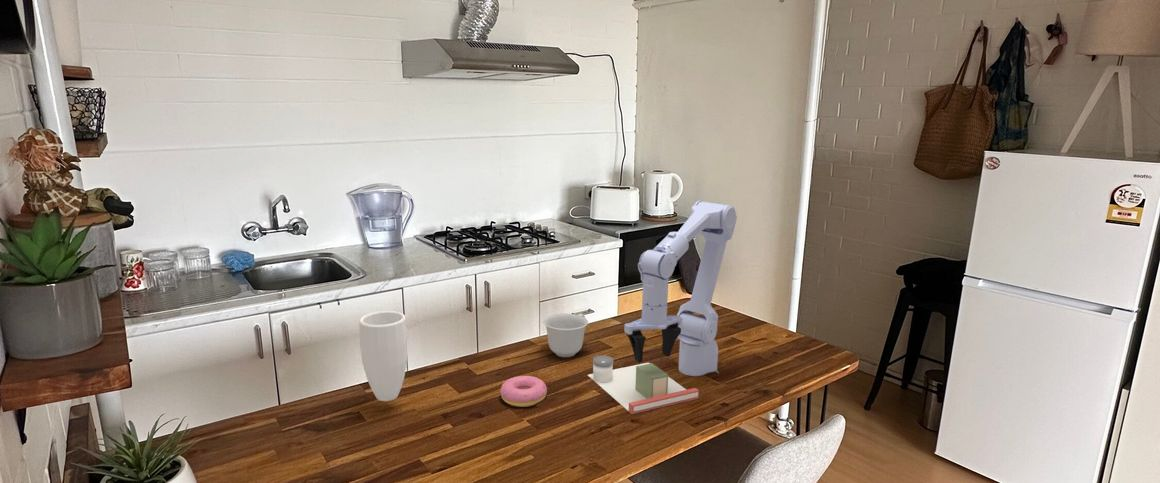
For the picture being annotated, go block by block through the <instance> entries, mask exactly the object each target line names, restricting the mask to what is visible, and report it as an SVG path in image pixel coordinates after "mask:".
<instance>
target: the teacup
mask: <svg viewBox="0 0 1160 483" xmlns="http://www.w3.org/2000/svg"><path fill="white" fill-rule="evenodd" d="M588 324H589V320H588V319H587V318H586V316H585V315H584V313H578V314H575V313H555V314H552V315H548V316H547V317H546V318H544V319H543V325H545V328H546V333H547V334H546V336H547V341H548V342H547V343H548V346H549V349H550V350H551V351H552V352H553V353H554V354H555V355H556V356H558V357H561V358H571V357H574V356H575V355H576V354H577V353H579V351H580V350H581V349H582V346H583V343H584V336H585V330H586V326H587V325H588Z"/></svg>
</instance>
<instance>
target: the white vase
mask: <svg viewBox="0 0 1160 483" xmlns="http://www.w3.org/2000/svg"><path fill="white" fill-rule="evenodd" d="M406 317H407V316H406V315H405V314H404V313H402V312H399V311H396V310H382V311H379V310H378V311H374V312H370V313H367V314H365V315H363V316H362V317H361V318H360V319H359V322H358V324H359V345H360V346H359V347H360V354H361V361H362V362H361V363H362V366H363V370H364V372H365V377H366V380H367V382H368V384H369V386H370V389H371V390H372V392H373V394H374V396H375V399H377V400H378V401H381V402H390V401H393V400H396V399H397V398H398V397H399V395H400V392H401V390H402V386H403V383H404V379H405V377H406V376H405V375H406V370H407V364H408V331H407V320H406Z"/></svg>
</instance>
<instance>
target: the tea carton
mask: <svg viewBox="0 0 1160 483" xmlns="http://www.w3.org/2000/svg"><path fill="white" fill-rule="evenodd" d="M649 363H650V362H649ZM668 377H669V374H668V373H667V372H665V371H663V369H661V368H660V367H658V366H657V365H656V364H653V363H650V364H645V365H640V366H636V385H635V390H636V391H638V392H639V393H640V394H641V395H643V396H644V397H645V398H646V399H648V398H652V397H657V396H661V395H666V394H667V390H668Z"/></svg>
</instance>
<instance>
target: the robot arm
mask: <svg viewBox="0 0 1160 483" xmlns="http://www.w3.org/2000/svg"><path fill="white" fill-rule="evenodd" d="M737 218H738V217H737V212H736V208H735V207H734V205H732V204H724V203H723V204H722V203H714V202H708V201H703V200H697V201H696V202H695V203H694V204H693V205H692V206H691V207H690V214H689V217H688V218H687V219H686V221H685V222H684V223H683V225H682V226H681V227H680V229H678V231H670V232H668V233H667V235H666V236H665V237H664V238H663V239H662V240H661V241H660V242H659V243H658V244H657V245H656V246H655V247H654V248H653V249H646V251H644V252H643V253H642V254H640V257H639V260H638V261H639V262H638V263H637V270H638V272H639V274H640V280H641V282H642V295H641V296H642V301H641V318H639V319H636V320H633V321H631V322H627V323H624V326H623V327H624V330H623V331H624V333H625V334H626V336H627V337H628V340H629V342H630V344H631V348H632V351H633V357H634V360H635V362H638V363H640V364H641V363H642V362H643V358H644V356H643V354H644V346H645V341H646V339H647V337H646V336H644V335H643V332H644V331H650V330H655V329H657V330H661V337H662V342H661V343H662V344H661V345H662V346H661V351H662V352H661V353H662V355H664V356H665V357H667V358H668V357H671V355H672V351H673V347H674V345H675V342H676V340H677V339H678V340H679V352H678V354H679V355H678V371H679V373H681V374H683V375H685V376H690V377H691V376H692V377H699V376H700V377H702V376H704V375H706V374H709V373H714V372H716V373H718V374H720V373H719V371H718V358H719V347H718V344H717V342H716V339H715V338H716V336H717V333H718V321H719V315H718V313H717V312H716V311H715V309H714V308H713V307H712V305H711V304H712V302H713V301H712V300H713V296H714V292H715V289H716V285H717V281H718V278H719V274H720V269H721V266H722V262H723V258H724V254H725V250H726V246H727V242H728V241H730V240H732V238H733V234H734V232H735V227H736V223H737ZM698 234H699V235H701V236H703V238H704V240H705V243H704V247H703V251H702V255H701V259H700V262H699V267H698V269H697V273H696V277H695V282H694V285H693V289H692V293H691V297H690V300H688V301H686V302H685V303H683V304H681V305H680V307H679V309H678V312H677V314H676V315H667V314H668V301H669V300H668V298H669V297H668V294H669V278H670V277H672V275H673V274H674V271H675V267H676V266H677V264H678V261H679V260H680V259H681V257H682V256H683V255H685V253H686V252H687V251H688V250H689V248H690V244H689V242H691V241H692V240H693V239H694V238H695V237H697V236H698ZM694 313H696V314H694ZM697 314H700V315H697ZM702 315H703V316H702Z"/></svg>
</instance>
